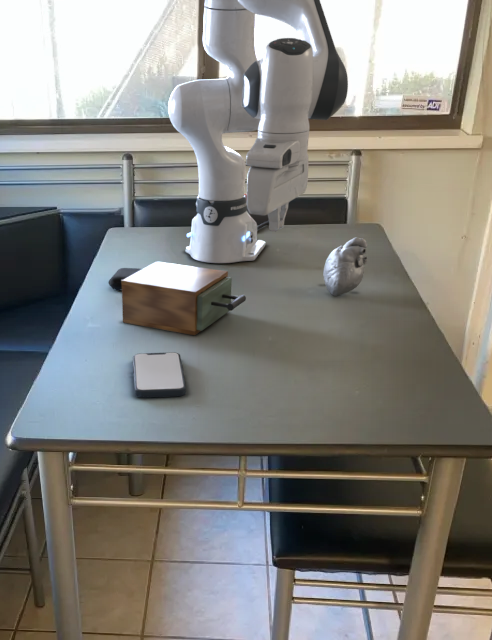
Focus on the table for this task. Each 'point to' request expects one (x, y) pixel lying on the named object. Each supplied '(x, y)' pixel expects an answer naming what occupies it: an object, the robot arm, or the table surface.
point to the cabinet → (166, 296)
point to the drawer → (216, 303)
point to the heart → (345, 267)
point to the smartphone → (158, 375)
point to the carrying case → (121, 277)
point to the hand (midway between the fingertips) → (276, 229)
